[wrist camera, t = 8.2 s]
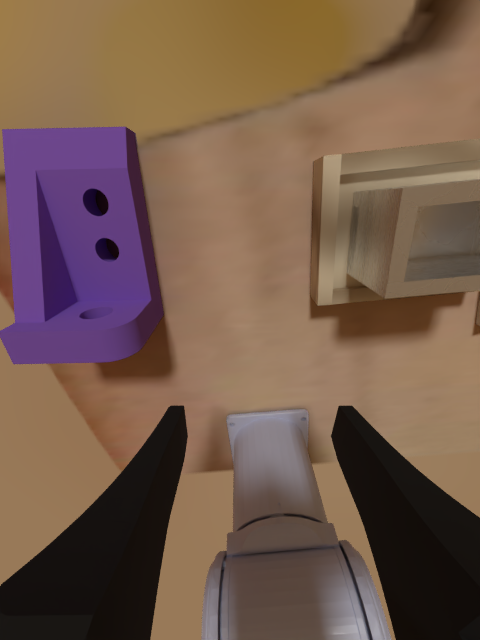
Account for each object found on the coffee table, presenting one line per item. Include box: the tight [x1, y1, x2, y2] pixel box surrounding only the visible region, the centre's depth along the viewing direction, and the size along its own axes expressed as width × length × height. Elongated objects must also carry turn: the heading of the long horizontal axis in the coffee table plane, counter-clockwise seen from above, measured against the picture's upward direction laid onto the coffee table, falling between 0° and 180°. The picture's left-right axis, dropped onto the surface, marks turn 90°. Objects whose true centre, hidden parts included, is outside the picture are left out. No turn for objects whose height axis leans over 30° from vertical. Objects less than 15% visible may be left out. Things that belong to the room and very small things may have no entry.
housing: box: [347, 179, 480, 299], centre depth 14 cm, size 5×8×5 cm, turn 95°
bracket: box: [0, 127, 164, 364], centre depth 15 cm, size 12×7×7 cm, turn 1°
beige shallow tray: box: [310, 139, 480, 306], centre depth 17 cm, size 9×12×2 cm
